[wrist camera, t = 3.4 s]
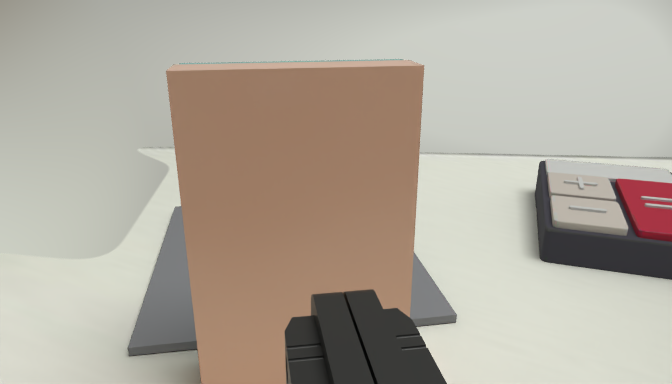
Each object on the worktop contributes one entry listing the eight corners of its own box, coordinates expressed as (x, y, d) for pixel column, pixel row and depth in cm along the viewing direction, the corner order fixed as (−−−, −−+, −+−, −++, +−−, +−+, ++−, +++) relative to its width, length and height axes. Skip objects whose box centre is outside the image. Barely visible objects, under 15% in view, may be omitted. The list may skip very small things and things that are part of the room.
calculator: (546, 219, 36) (540, 152, 49) (538, 273, 37) (534, 194, 50) (734, 241, 32) (673, 163, 45) (715, 299, 34) (662, 207, 47)
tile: (407, 370, 26) (424, 65, 21) (202, 394, 24) (166, 71, 19) (393, 340, 28) (406, 59, 23) (206, 360, 27) (174, 63, 22)
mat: (455, 322, 30) (456, 314, 30) (129, 355, 27) (127, 347, 27) (374, 199, 48) (374, 194, 48) (175, 212, 46) (175, 206, 45)
